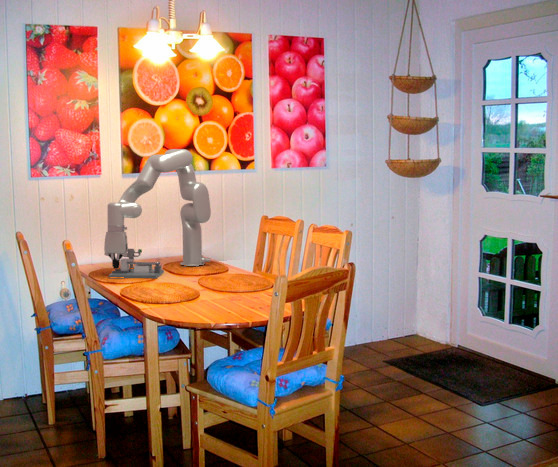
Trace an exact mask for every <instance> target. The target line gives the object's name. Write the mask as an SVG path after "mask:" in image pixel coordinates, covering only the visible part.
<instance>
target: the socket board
mask: <svg viewBox="0 0 558 467" xmlns="http://www.w3.org/2000/svg"><path fill="white" fill-rule="evenodd" d="M164 272H165V270H164V269H162V264H160V265H158V266H156V265H154V268H152V272H150V273H149V274H134V268H133V269H130V268H129V272H128V271H121V268H117V269H116V268H115V269H114V270H112V271H111V273H110V274H108V278H109V277H124V278H123V279H125V278H151V280H152V279H153V280H155V279H156V280H158V278H159V277H160V276H161V275H163V274H164Z"/></svg>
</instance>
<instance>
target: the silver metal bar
mask: <svg viewBox="0 0 558 467" xmlns="http://www.w3.org/2000/svg"><path fill="white" fill-rule="evenodd" d="M128 264H129V265H130V264H133V265H136V264H140V265H152V266H158V265H161V262H160V261H155V262H151V261H133V262H130V261H129V262H128Z"/></svg>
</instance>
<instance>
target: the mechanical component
mask: <svg viewBox="0 0 558 467" xmlns="http://www.w3.org/2000/svg"><path fill="white" fill-rule="evenodd" d="M142 252H143V250H142V248H138V249H137V251H136V250H135V248H128V251H127V256H123V257H124V258H128V259H134V260H135V258H138V257H140V256H141V254H142ZM123 254H124V253H123ZM135 254H138V255H135ZM123 257H122V258H123ZM129 262H134V261H129ZM130 268H133V269H134V264H129V269H130Z"/></svg>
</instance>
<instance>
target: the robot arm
mask: <svg viewBox="0 0 558 467" xmlns="http://www.w3.org/2000/svg"><path fill="white" fill-rule="evenodd" d="M192 162H193V154H192V153H191V151H189V150H188V149H184V148H179V149H178V148H173V149H172V148H171V149H168V150H166V151H165V152H164V154H152V155H151V156H149V157H148V158H147V160H146V162H145V164H144V166H143V167H142V169H141V170H140V173H139V174H138V177H137V179H135V181H134V182H132V183H131V184H130V185H129V186H128V188H127V189H126V190H125V191H124V192H123V194H122V195H121V196H120V198H119V201H118V202H109V203H107V231H106V232H105V238H104V245H103V246H104V248H103V249H104V256H107V257H109V259H111V261H112V263H111V265H112V269H114V270H115V269H120V268H119V267H121V264H120V260H121V259H123V256H127V253H128V252H127V251H128V249H129V246H128V244H129V242H128V236H127V232H126V231H127V230H128V227H127V226H125V218H129V219H136V218H138V217H140V216H141V215H142V212H143V208H142V206H141V205H140V204H139V203H138V202H136V201H137V200H138V198H140V197H141V196H143V195H144V194H146V193H148V192H149V191H151V190H152V189H153V188H154V186H156V183H157V181H158V179H159V177H160V176H161V174H162V173H170V172H173V171H174V172H175V171H176V173H177V176H178V186H179V192H180V197H181V198H182V199H183V200H185V201H190V202H188V203H185V204H183V205H182V207H181V208H180V215H179V216H180V220H181V227H182V229H181V230H182V261H180V263H179V265H180V264H181V265H186V266H196V267H200V266H199V265H203V266H205V265H206V262H207V263H211V257H204V255H202V254H203V252H202V251H203V250H202V243H203V242H202V227H201V224H205V223H206V222H208V221H209V220H210V218H211V214H212V212H211V211H212V210H211V209H212V208H211V200H210V192H209V190H208V188H207V186H206V184H204V183H202V182H199V181H197V178H196V173H195V172H196V171H195V169H194V166H193V164H192ZM123 253H124V254H123ZM204 264H205V265H204ZM181 265H180V266H181ZM186 266H185V267H186Z"/></svg>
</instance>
